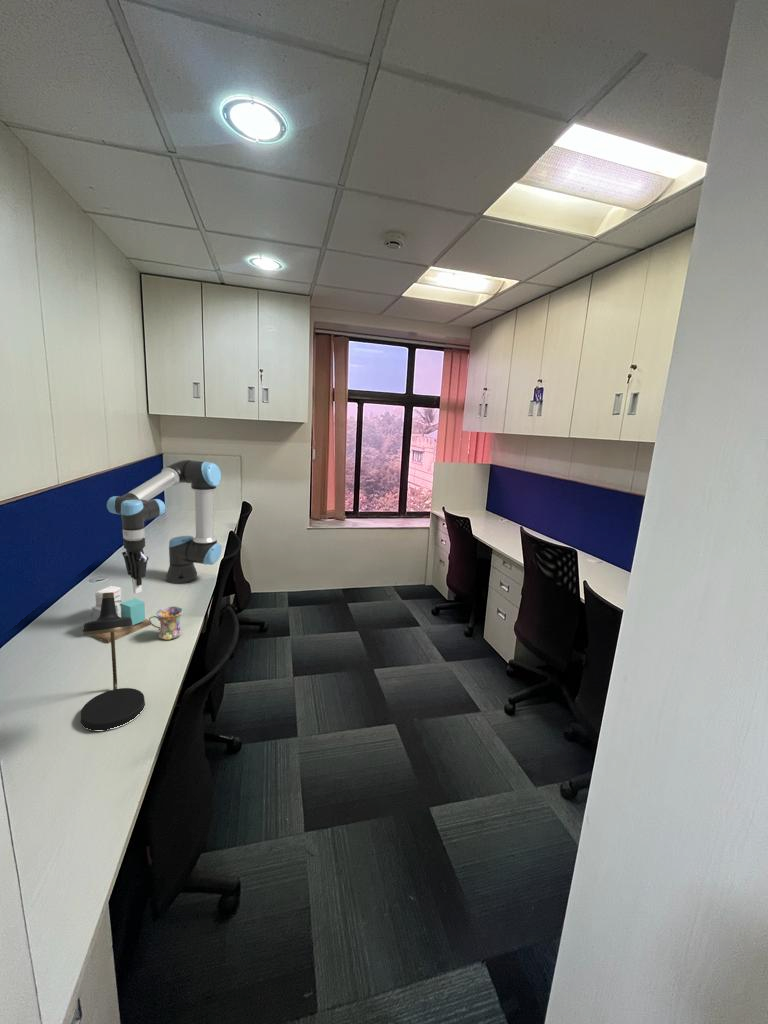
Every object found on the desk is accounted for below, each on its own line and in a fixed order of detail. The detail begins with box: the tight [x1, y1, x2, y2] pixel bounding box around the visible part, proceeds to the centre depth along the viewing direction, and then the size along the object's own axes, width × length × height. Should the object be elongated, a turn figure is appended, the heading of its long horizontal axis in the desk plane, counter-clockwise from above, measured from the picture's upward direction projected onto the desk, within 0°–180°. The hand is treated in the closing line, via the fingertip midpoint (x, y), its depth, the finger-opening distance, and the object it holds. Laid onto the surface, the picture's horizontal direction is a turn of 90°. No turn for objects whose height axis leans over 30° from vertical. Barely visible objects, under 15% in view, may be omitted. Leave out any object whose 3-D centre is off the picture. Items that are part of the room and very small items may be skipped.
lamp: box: [79, 592, 146, 730], centre depth 120 cm, size 16×22×38 cm
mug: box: [148, 606, 184, 640], centre depth 164 cm, size 12×9×11 cm
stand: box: [90, 604, 152, 644], centre depth 166 cm, size 18×12×11 cm, turn 156°
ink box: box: [94, 585, 122, 615], centre depth 176 cm, size 9×5×12 cm, turn 168°
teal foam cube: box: [120, 598, 146, 625], centre depth 169 cm, size 6×6×8 cm
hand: (137, 591), depth 171 cm, fingers closed
